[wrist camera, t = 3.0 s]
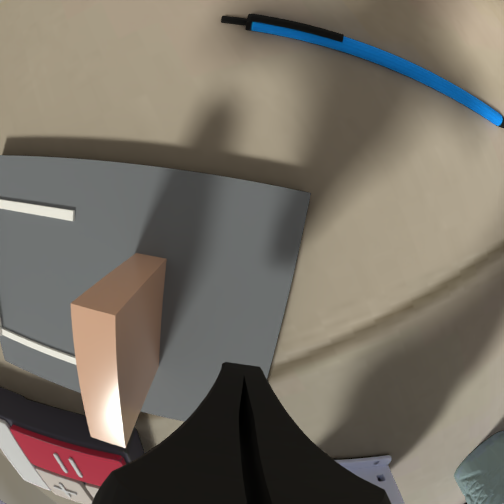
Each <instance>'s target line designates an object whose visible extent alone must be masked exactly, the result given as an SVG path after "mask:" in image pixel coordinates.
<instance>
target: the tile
mask: <svg viewBox="0 0 504 504" xmlns="http://www.w3.org/2000/svg"><path fill="white" fill-rule="evenodd" d="M166 261H167V259H166V258H160V257H155V256H150V255H144V254H139V253H136V254H134V255H133V256H131V257H130V258H129V259H127V260H126V261H125V262H123V263H122V264H121V265H119V266H118V267H117V268H115V269H114V270H113V271H111V272H110V273H109V274H107V275H106V276H105V277H103V278H102V279H101V280H99V281H98V282H97V283H96V284H94V285H93V286H92V287H90V288H89V289H88V290H87V291H85V292H84V293H83V294H82V295H80V296H79V297H78V298H76V299H75V300H74V301H73V302H71V303H70V304H71V319H72V331H73V341H74V350H75V357H76V365H77V371H78V378H79V384H80V389H81V395H82V400H83V405H84V410H85V414H86V419H87V423H88V427H89V431H90V435H91V437H93V438H96V439H98V440H101V441H104V442H107V443H110V444H114V445H117V446H120V447H123V448H126V446H127V444H128V441H129V438H130V436H131V433H132V431H133V428H134V426H135V423H136V421H137V418H138V416H139V413H140V411H141V408H142V406H143V403H144V401H145V398H146V396H147V393H148V391H149V389H150V386H151V384H152V381H153V379H154V377H155V374H156V372H157V369H158V367H159V352H160V333H161V317H162V304H163V292H164V281H165V271H166Z"/></svg>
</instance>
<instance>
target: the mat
mask: <svg viewBox="0 0 504 504" xmlns="http://www.w3.org/2000/svg"><path fill="white" fill-rule="evenodd" d="M310 195H311V193H308V192H304V191H299V190H294V189H289V188H284V187H279V186H274V185H269V184H264V183H259V182H253V181H248V180H242V179H236V178H230V177H224V176H218V175H212V174H206V173H199V172H192V171H185V170H178V169H171V168H163V167H156V166H147V165H139V164H130V163H120V162H110V161H100V160H88V159H75V158H60V157H41V156H12V155H0V342H1V346H2V350H3V354H4V358H5V361H7V362H9V363H11V364H13V365H15V366H17V367H19V368H22V369H24V370H26V371H28V372H30V373H32V374H35V375H37V376H39V377H41V378H44V379H46V380H48V381H51V382H53V383H56V384H58V385H61V386H63V387H66V388H68V389H71V390H74V391H76V392H79V393H81V389H80V384H79V378H78V371H77V365H76V357H75V350H74V341H73V331H72V319H71V304H70V303H71V302H73V301H74V300H75V299H76V298H78V297H79V296H80V295H82V294H83V293H84V292H85V291H87V290H88V289H89V288H90V287H92V286H93V285H94V284H96V283H97V282H98V281H99V280H101V279H102V278H103V277H105V276H106V275H107V274H109V273H110V272H111V271H113V270H114V269H115V268H117V267H118V266H119V265H121V264H122V263H123V262H125V261H126V260H127V259H129V258H130V257H131V256H133V255H134V254H136V253H139V254H144V255H150V256H155V257H160V258H166V259H167V261H166V271H165V281H164V292H163V304H162V317H161V333H160V352H159V367H158V369H157V372H156V374H155V377H154V379H153V381H152V384H151V386H150V389H149V391H148V393H147V396H146V398H145V401H144V403H143V406H142V408H141V412H145V413H149V414H153V415H157V416H162V417H166V418H171V419H175V420H180V421H186V420H187V419H188V418H189V417H190V416H191V414H192V413H193V412H194V411H195V410H196V409H197V407H198V406H199V405H200V403H201V402H202V401H203V400H204V398H205V397H206V396H207V394H208V392H209V391H210V389H211V388H212V386H213V385H214V383H215V381H216V379H217V377H218V375H219V373H220V370H221V367H222V364H223V363H224V362H231V363H237V364H244V365H251V366H259V367H260V368H261V369H262V371H263V373H264V375H265V377H266V379H267V377H268V373H269V370H270V366H271V362H272V358H273V355H274V351H275V347H276V343H277V339H278V335H279V332H280V328H281V324H282V320H283V316H284V312H285V307H286V303H287V299H288V295H289V291H290V287H291V282H292V278H293V274H294V270H295V265H296V261H297V256H298V252H299V247H300V243H301V238H302V234H303V229H304V224H305V219H306V215H307V210H308V205H309V200H310Z"/></svg>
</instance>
